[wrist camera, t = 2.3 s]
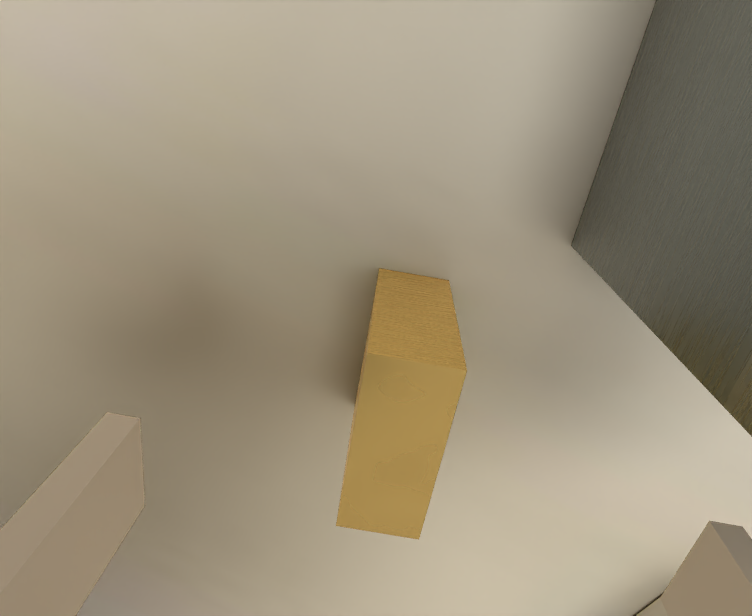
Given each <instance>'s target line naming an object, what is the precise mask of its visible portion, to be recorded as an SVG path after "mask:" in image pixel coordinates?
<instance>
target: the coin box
mask: <svg viewBox="0 0 752 616" xmlns="http://www.w3.org/2000/svg"><path fill="white" fill-rule="evenodd" d="M571 246H572V247H573V248H574V249H575V250H576V251H577V252H578V253H579V255H580V256H581V257H582V258H583V259H584V260H585V261H586V262H587V263H588V264H589V265H590V266H591V267H592V268H593V269H594V270H595V271H596V272H597V274H598V275H599V276H600V277H601V278H602V279H603V280H604V281H605V282H606V283H607V284H608V285H609V286H610V287H611V288H612V289H613V290H614V291H615V293H616V294H617V295H618V296H619V297H620V298H621V299H622V300H623V301H624V302H625V303H626V304H627V305H628V306H629V307H630V308H631V309H632V310H633V312H634V313H635V314H636V315H637V316H638V317H639V318H640V319H641V320H642V321H643V322H644V323H645V324H646V325H647V326H648V327H649V328H650V329H651V331H652V332H653V333H654V334H655V335H656V336H657V337H658V338H659V339H660V340H661V341H662V342H663V343H664V344H665V345H666V346H667V347H668V348H669V350H670V351H671V352H672V353H673V354H674V355H675V356H676V357H677V358H678V359H679V360H680V361H681V362H682V363H683V364H684V365H685V366H686V367H687V369H688V370H689V371H690V372H691V373H692V374H693V375H694V376H695V377H696V378H697V379H698V380H699V381H700V382H701V383H702V384H703V385H704V386H705V388H706V389H707V390H708V391H709V392H710V393H711V394H712V395H713V396H714V397H715V398H716V399H717V400H718V401H719V402H720V403H721V404H722V405H723V407H724V408H725V409H726V410H727V411H728V412H729V413H730V414H731V415H732V416H733V417H734V418H735V419H736V420H737V421H738V422H739V423H740V424H741V426H742V427H743V428H744V429H745V430H746V431H747V432H748V433H749V434H750V435H751V436H752V0H657V1H656V4H655V7H654V9H653V12H652V15H651V18H650V21H649V24H648V27H647V30H646V32H645V35H644V38H643V41H642V44H641V47H640V50H639V53H638V55H637V58H636V61H635V64H634V67H633V70H632V73H631V76H630V78H629V81H628V84H627V87H626V90H625V93H624V96H623V99H622V101H621V104H620V107H619V110H618V113H617V116H616V119H615V122H614V124H613V127H612V130H611V133H610V136H609V139H608V142H607V145H606V148H605V150H604V153H603V156H602V159H601V162H600V165H599V168H598V171H597V173H596V176H595V179H594V182H593V185H592V188H591V191H590V194H589V196H588V199H587V202H586V205H585V208H584V211H583V214H582V217H581V219H580V222H579V225H578V228H577V231H576V234H575V237H574V240H573V242H572V245H571Z"/></svg>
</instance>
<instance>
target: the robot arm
mask: <svg viewBox="0 0 752 616" xmlns="http://www.w3.org/2000/svg"><path fill="white" fill-rule="evenodd" d="M144 506H145V494H144V475H143V456H142V438H141V419H140V418H137V417H131V416H126V415H120V414H115V413H109V412H107V413H106V414H105V415H104V416H103V417H102V418H101V419H100V421H99V422H98V423H97V424H96V425H95V426H94V427H93V428H92V429H91V430H90V432H89V433H88V434H87V435H86V436H85V437H84V438H83V439H82V440H81V441H80V443H79V444H78V445H77V446H76V447H75V448H74V449H73V450H72V451H71V452H70V454H69V455H68V456H67V457H66V458H65V459H64V460H63V461H62V462H61V463H60V465H59V466H58V467H57V468H56V469H55V470H54V471H53V472H52V473H51V474H50V476H49V477H48V478H47V479H46V480H45V481H44V482H43V483H42V484H41V485H40V487H39V488H38V489H37V490H36V491H35V492H34V493H33V494H32V495H31V496H30V498H29V499H28V500H27V501H26V502H25V503H24V504H23V505H22V506H21V507H20V509H19V510H18V511H17V512H16V513H15V514H14V515H13V516H12V517H11V518H10V520H9V521H8V522H7V523H6V524H5V525H4V526H3V527H2V528H1V529H0V616H76V615H77V613H78V611H79V610H80V608H81V607H82V605H83V603H84V602H85V600H86V599H87V597H88V595H89V594H90V592H91V591H92V589H93V587H94V586H95V584H96V583H97V581H98V579H99V578H100V576H101V575H102V573H103V572H104V570H105V568H106V567H107V565H108V564H109V562H110V560H111V559H112V557H113V556H114V554H115V552H116V551H117V549H118V548H119V546H120V544H121V543H122V541H123V540H124V538H125V536H126V535H127V533H128V532H129V530H130V528H131V527H132V525H133V524H134V522H135V521H136V519H137V517H138V516H139V514H140V513H141V511H142V509H143V508H144ZM660 599H661V601H662V603H663V605H664V608H665V610H666V612H667V614H668V616H752V539H751V538H750V537H749V535H748V534H747V532H746V531H745V529H744V528H743V527H741V526H736V525H730V524H725V523H719V522H713V521H709V522H708V524H707V525H706V527H705V529H704V530H703V532H702V533H701V535H700V536H699V538H698V539H697V541H696V543H695V544H694V546H693V547H692V549H691V550H690V552H689V554H688V555H687V557H686V558H685V560H684V561H683V563H682V565H681V566H680V568H679V569H678V571H677V572H676V574H675V575H674V577H673V579H672V580H671V582H670V583H669V585H668V586H667V588H666V590H665V591H664V593H663V594H662V596H661V597H660Z"/></svg>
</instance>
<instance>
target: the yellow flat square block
mask: <svg viewBox="0 0 752 616" xmlns="http://www.w3.org/2000/svg"><path fill="white" fill-rule="evenodd" d="M466 372H467V368H466V363H465V358H464V353H463V348H462V343H461V338H460V333H459V328H458V323H457V318H456V313H455V308H454V304H453V299H452V294H451V289H450V284H449V280H443V279H438V278H432V277H426V276H421V275H415V274H409V273H403V272H398V271H392V270H386V269H380V268H379V273H378V278H377V284H376V290H375V295H374V301H373V307H372V312H371V318H370V323H369V329H368V335H367V340H366V346H365V351H364V357H363V363H362V368H361V374H360V380H359V385H358V391H357V396H356V402H355V408H354V414H353V421H352V427H351V433H350V440H349V446H348V452H347V459H346V465H345V471H344V478H343V484H342V490H341V497H340V503H339V509H338V516H337V522H336V526H341V527H347V528H353V529H359V530H365V531H371V532H377V533H383V534H389V535H395V536H401V537H407V538H414V539H419V537H420V534H421V530H422V527H423V523H424V520H425V516H426V513H427V509H428V505H429V502H430V498H431V495H432V491H433V488H434V484H435V481H436V477H437V474H438V470H439V467H440V463H441V460H442V456H443V453H444V449H445V446H446V442H447V439H448V435H449V432H450V428H451V425H452V421H453V418H454V414H455V411H456V407H457V404H458V400H459V397H460V393H461V390H462V386H463V383H464V379H465V376H466Z"/></svg>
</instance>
